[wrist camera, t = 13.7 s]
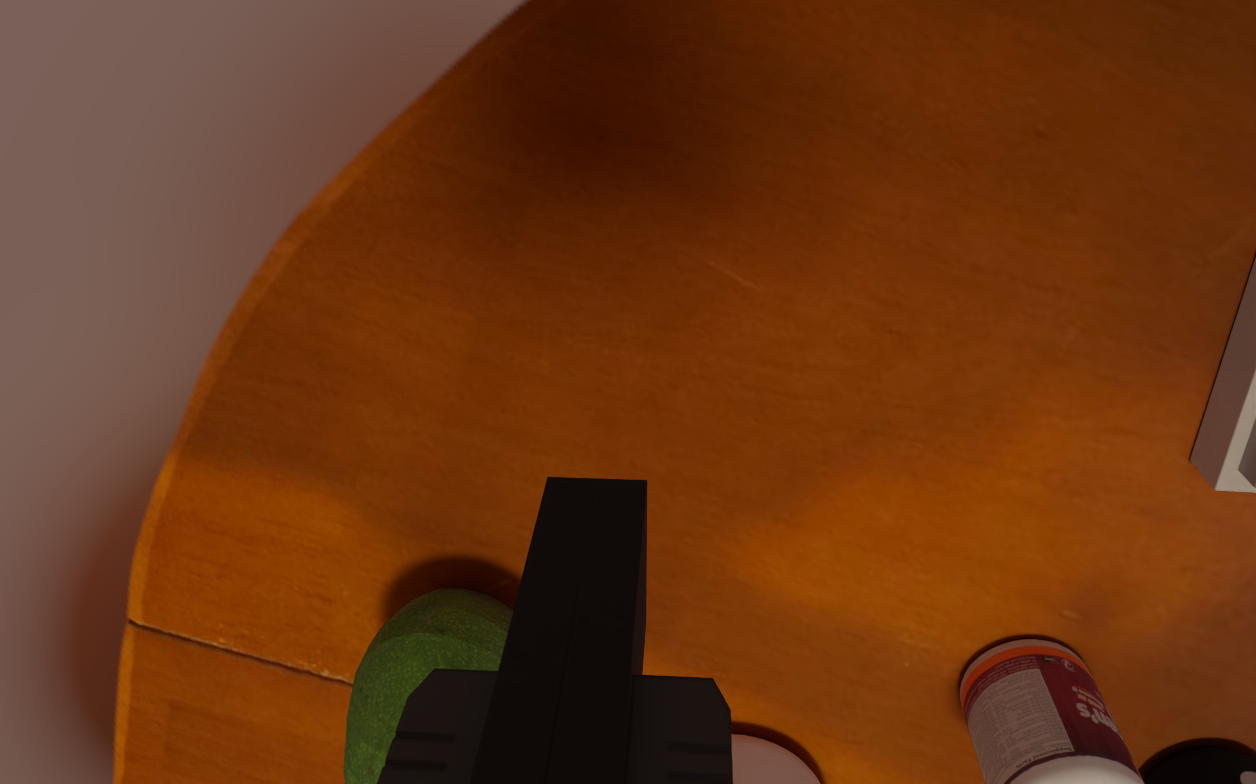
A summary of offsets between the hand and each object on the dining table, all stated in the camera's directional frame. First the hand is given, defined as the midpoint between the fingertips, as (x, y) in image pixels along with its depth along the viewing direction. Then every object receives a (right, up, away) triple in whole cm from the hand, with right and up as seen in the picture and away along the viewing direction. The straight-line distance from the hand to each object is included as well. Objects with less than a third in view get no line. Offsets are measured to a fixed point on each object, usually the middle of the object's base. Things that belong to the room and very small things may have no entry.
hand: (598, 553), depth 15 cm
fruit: (-7, -9, +34) cm, 35 cm away
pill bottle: (+20, -12, +33) cm, 40 cm away
